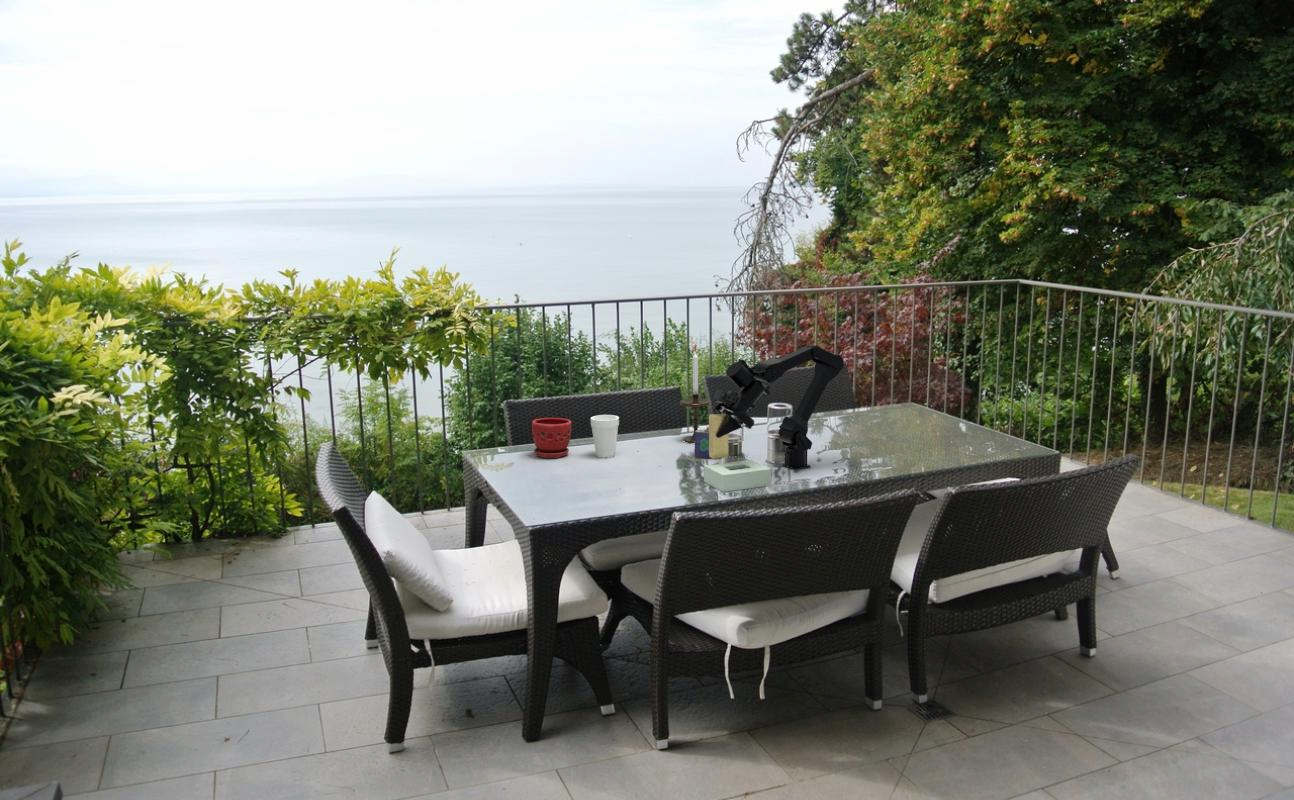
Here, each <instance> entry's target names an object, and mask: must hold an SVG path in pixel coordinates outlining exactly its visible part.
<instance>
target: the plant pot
mask: <svg viewBox="0 0 1294 800" xmlns="http://www.w3.org/2000/svg"><path fill="white" fill-rule="evenodd" d="M531 432H532V439H533V442H534V445H535V447H536V448H535V449H534V450H533V452H534V455H536V456H538V457H540V458H542V459H556V458H562V457H564V456H566V455H567V454H569V451H570V449H569V448H568V446H569V443H570V441H571V437H572V436H571V435H572V421H571V419H567V418H561V417H543V418H542V417H541V418H537V419H534V420H532V421H531ZM543 433H544V435H543Z"/></svg>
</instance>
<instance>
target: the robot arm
mask: <svg viewBox="0 0 1294 800" xmlns="http://www.w3.org/2000/svg"><path fill="white" fill-rule="evenodd" d="M809 361H811V362H813V363H814V376H813V378H812V380H811V381H810V383H809V385H808V387H807V389H806V391H805V393H804V395H803V397H802V399H801V400H800V402H799V404H798V406H797V407H796V410H795V412H794V413H793V414H792V415H791V416H784V418H783V419H782V422H781V423H780V425H779V426H778V428H779V430H778V437H779V439H780V441H781V444H782V446H783V447H784V446H785V452H784V463H783V462H782V466H784V467H785V468H786V467H787V468H789V469H792V470H800V469H805V468H810V467H811V464H808V450H811V449H812V446H813V441H812V440H811V439H810V438H809V437H808V436H807V435H808V431H809V420H810V418H811V417H812V415H813V413H814V411H815V409H816V408H817V405H818V404H819V401H820V400H821V398H822V396H823V394H824V393H825V390H826V389H827V386H828V384H829V383H830V382H831V381H833V380H834V379H835V378H837V377H838V376H839V374H840V373H841V372H842V370H843V369H844V366H845V361H844V359H843V356H842V355H840V354H838V353H837V354H835V353H832V352H830V351H829V350H826V349H823V348H822V347H820V346H819V345H815V344H809V343H808V344H806V345H805V346H803V347H802V348H799V349H797V350H795V351H793V352H790V353H788V354H785V355H783V356H781V357H779V358H776V359H768V360H763V361H759V362H757V363H756V364H754V366H749V364H748V363H747V362H746V360H745V359H741V358H740V359H738V361H735V362H733V363H732V364H731V365H729V366H728V367H727V368H726V371H725V374H726V376H727V377H728V378H729V380H730V381H732V383H734V384H735V385H736V387H737V388H741V389H740V390H739V391H733V390H730V389H729V390H728V391H727V392H726V391H724V390H721V389H720V388H719V389H718V388H717V390H716V392H715V394H714V397H713V399H714V400H716V401H714V402H713V403H711V405H710V406H711V408H712V409H714V411H715V412H716V414H721V413H725V414H726V421H725V422H724V424H723V425H722V427H721V428H720V430H719V431H718V433H717V435H716V436H717V437H718V438H720V437H722V436H724V435H726V434H728V435H729V434H730V433H733V432H734V431H738V430H740V429H743V425H744V427H745V428H746V429H749V430H751V429H752V427H753V426H754V424H755V420H754V418H752V417H751V415H749V414H748V413H747V412H748V411H749V410H750V409H752V410H753V409H754V408H755V405H754V404H755V403H756V402H757V401H758V400H759V398H760V397H761V396H762V395H763V394H764V395H767V396H770V395H771V393H770V386H769V385H767V384H764V383H763V382H765V383H770V384H772V383H776V382H777V381H778V380H779V379H781V378H782V377H783V376H784V374H785V373H786V372H788V371H790V370H793V369H795V368H796V367H799V366H800V365H801V366H802V365H803V364H805V363H808V362H809Z"/></svg>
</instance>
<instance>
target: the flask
mask: <svg viewBox="0 0 1294 800" xmlns="http://www.w3.org/2000/svg"><path fill="white" fill-rule="evenodd" d="M694 458H696V459H703V460H704V459H709V460H714V459H713V458H711V457H709V425H708V426H707V425H706V429H704V428H702V429H701V428H700V429H698V430H697V431H695V444H694ZM719 459H720V458H716V459H715V460H719Z"/></svg>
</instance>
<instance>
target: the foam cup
mask: <svg viewBox="0 0 1294 800" xmlns="http://www.w3.org/2000/svg"><path fill="white" fill-rule="evenodd" d="M619 425H620V416H618V415H615V414H614V415H613V414H599V415H594V416H591V417H590V426H591V430H592V431H591V432H592V437H593V444H594V450H595V456H596V457H597V456H598V457H597V458H599V457H611V458H614V457H615V456H616V450H617V438H618V430H619ZM613 456H614V457H613Z"/></svg>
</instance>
